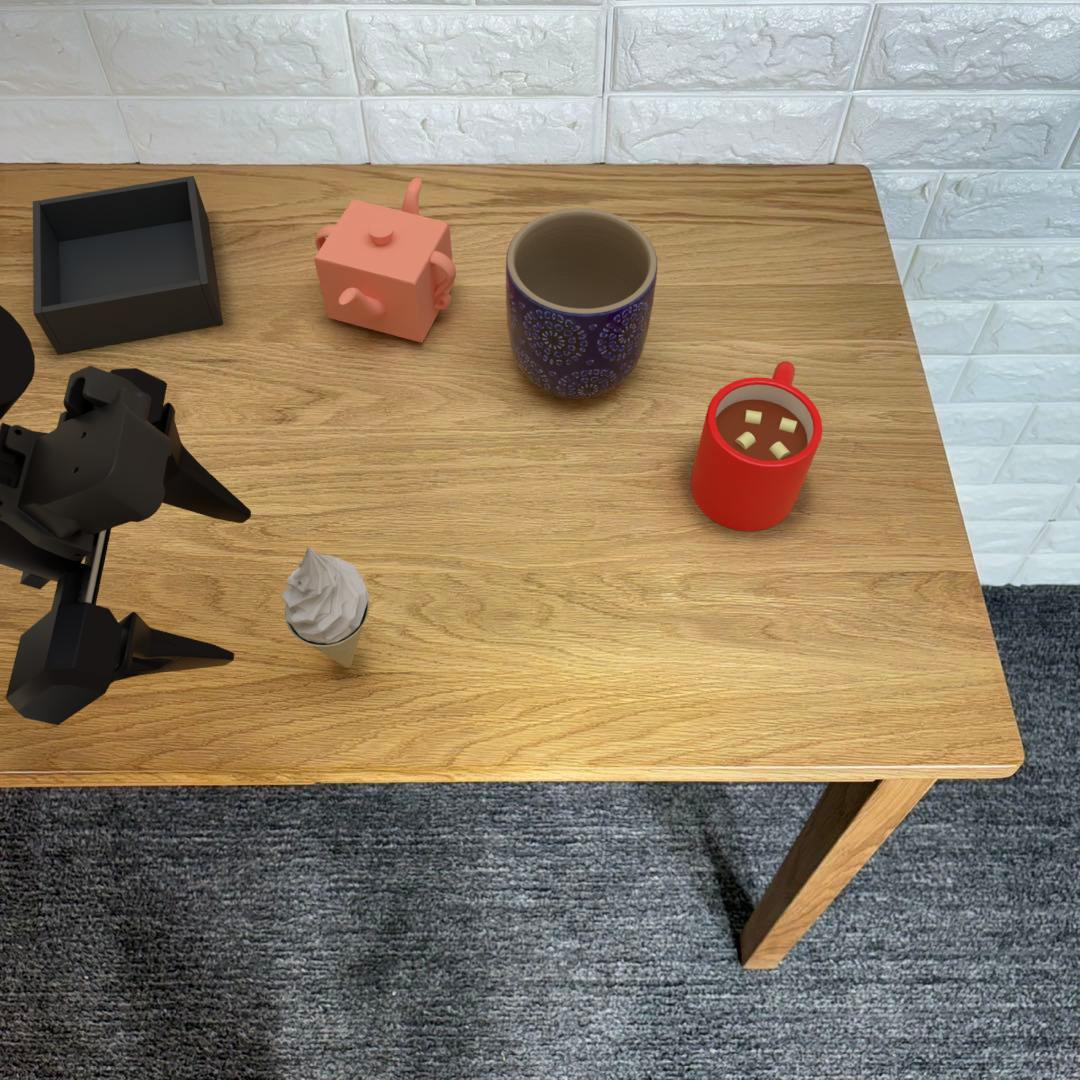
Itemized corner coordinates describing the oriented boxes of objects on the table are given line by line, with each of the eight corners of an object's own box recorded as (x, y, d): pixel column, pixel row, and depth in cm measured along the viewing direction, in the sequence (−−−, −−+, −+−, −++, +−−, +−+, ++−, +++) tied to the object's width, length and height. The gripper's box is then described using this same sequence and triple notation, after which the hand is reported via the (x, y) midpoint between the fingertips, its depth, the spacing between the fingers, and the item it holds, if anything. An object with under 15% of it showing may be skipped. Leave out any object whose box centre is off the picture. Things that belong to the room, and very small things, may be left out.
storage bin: (57, 354, 80) (33, 313, 76) (54, 244, 87) (32, 201, 83) (223, 324, 82) (208, 283, 78) (208, 218, 89) (193, 175, 85)
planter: (592, 296, 84) (601, 187, 75) (669, 380, 80) (689, 275, 70) (482, 347, 81) (476, 240, 72) (555, 438, 76) (559, 336, 67)
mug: (817, 421, 78) (845, 352, 71) (783, 544, 72) (809, 481, 65) (719, 393, 79) (737, 323, 72) (677, 512, 73) (693, 447, 66)
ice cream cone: (395, 684, 66) (364, 571, 53) (320, 710, 65) (270, 601, 52) (373, 620, 68) (338, 497, 55) (300, 645, 67) (248, 525, 54)
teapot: (288, 351, 81) (265, 274, 74) (364, 230, 88) (350, 150, 81) (424, 389, 79) (414, 313, 72) (490, 262, 86) (487, 182, 79)
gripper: (-42, 593, 37) (310, 695, 47) (57, 246, 47) (332, 389, 57) (-137, 687, 44) (190, 759, 54) (-32, 364, 54) (228, 475, 63)
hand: (239, 585), depth 57 cm, fingers open, 9 cm apart
